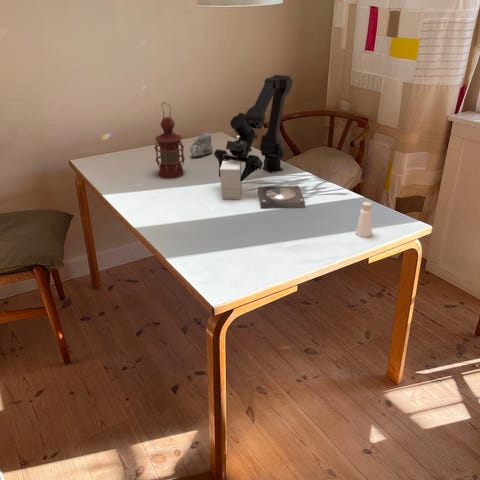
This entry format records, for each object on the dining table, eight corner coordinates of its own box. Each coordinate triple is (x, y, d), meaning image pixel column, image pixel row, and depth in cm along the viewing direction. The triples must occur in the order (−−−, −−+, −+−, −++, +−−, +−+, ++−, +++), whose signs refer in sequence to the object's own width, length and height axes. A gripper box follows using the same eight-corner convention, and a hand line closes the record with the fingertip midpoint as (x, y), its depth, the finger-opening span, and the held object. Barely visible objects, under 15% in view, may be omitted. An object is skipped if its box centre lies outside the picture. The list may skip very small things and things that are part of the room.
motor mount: (257, 191, 204) (257, 185, 202) (298, 190, 204) (299, 184, 203) (260, 208, 189) (260, 201, 188) (304, 207, 190) (305, 200, 189)
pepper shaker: (360, 228, 174) (363, 198, 169) (375, 233, 171) (378, 202, 166) (352, 234, 171) (355, 203, 165) (367, 239, 168) (371, 208, 162)
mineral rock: (192, 159, 238) (191, 138, 233) (183, 153, 246) (182, 132, 241) (218, 155, 243) (217, 134, 238) (209, 149, 251) (208, 128, 246)
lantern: (190, 175, 220) (186, 103, 206) (165, 181, 214) (159, 108, 200) (177, 167, 229) (172, 97, 215) (151, 172, 223) (145, 102, 209)
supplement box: (242, 190, 203) (241, 160, 196) (240, 199, 196) (239, 169, 189) (223, 190, 203) (222, 160, 196) (221, 199, 197) (219, 168, 190)
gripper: (215, 128, 196) (200, 164, 193) (259, 134, 188) (243, 173, 184) (227, 143, 206) (212, 178, 202) (269, 150, 197) (254, 186, 194)
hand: (230, 178), depth 196 cm, fingers open, 9 cm apart
